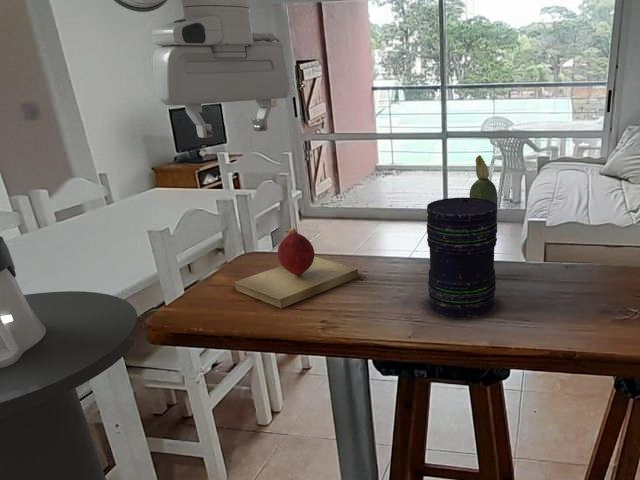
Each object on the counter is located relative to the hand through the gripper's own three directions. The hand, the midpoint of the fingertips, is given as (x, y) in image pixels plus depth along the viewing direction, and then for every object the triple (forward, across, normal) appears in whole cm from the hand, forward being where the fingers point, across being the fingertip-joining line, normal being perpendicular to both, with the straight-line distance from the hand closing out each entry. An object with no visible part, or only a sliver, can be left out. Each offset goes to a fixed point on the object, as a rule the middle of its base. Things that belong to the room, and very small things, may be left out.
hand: (234, 134), depth 86 cm
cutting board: (+24, -4, +7) cm, 25 cm away
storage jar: (+23, -13, +34) cm, 43 cm away
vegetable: (+23, -24, +30) cm, 45 cm away
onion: (+22, -4, +7) cm, 24 cm away
